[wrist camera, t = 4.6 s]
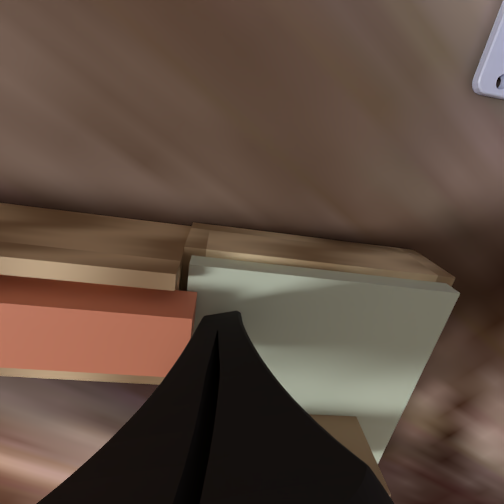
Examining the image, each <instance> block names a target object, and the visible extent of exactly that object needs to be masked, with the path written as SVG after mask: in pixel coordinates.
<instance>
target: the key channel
mask: <svg viewBox="0 0 504 504" xmlns="http://www.w3.org/2000/svg"><path fill="white" fill-rule="evenodd" d="M191 227H192V226H185V225H177V224H169V223H161V222H153V221H145V220H137V219H128V218H120V217H112V216H104V215H96V214H88V213H80V212H72V211H63V210H55V209H47V208H39V207H31V206H23V205H15V204H7V203H0V275H10V276H21V277H32V278H42V279H53V280H63V281H74V282H84V283H95V284H106V285H116V286H127V287H137V288H148V289H158V290H169V291H175V290H180V291H181V282H182V269H183V255H184V246H185V243H186V240H187V237H188V235H189V232H190V229H191ZM0 376H12V377H31V378H49V379H67V380H86V381H104V382H122V383H140V384H159V385H160V383H161V382H162V381H163V379H164V378H165V377H154V376H137V375H120V374H102V373H85V372H68V371H51V370H33V369H16V368H0Z"/></svg>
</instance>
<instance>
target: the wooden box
mask: <svg viewBox="0 0 504 504" xmlns="http://www.w3.org/2000/svg"><path fill="white" fill-rule="evenodd" d="M192 255H195V256H204V257H213V258H222V259H231V260H240V261H249V262H258V263H267V264H276V265H285V266H294V267H303V268H312V269H321V270H330V271H339V272H348V273H357V274H366V275H375V276H384V277H393V278H403V279H412V280H421V281H430V282H439V283H447V284H448V285H449V286H451V287H452V285H453V283H454V281H455V278H456V277H454V276H453V275H451V274H450V273H448V272H447V271H445V270H444V269H442V268H440V267H439V266H437V265H436V264H434V263H433V262H431V261H430V260H428V259H427V258H425V257H424V256H422V255H421V254H419V253H418V252H416V251H415V250H411V249H403V248H395V247H387V246H379V245H371V244H363V243H355V242H347V241H339V240H331V239H323V238H315V237H307V236H299V235H291V234H283V233H275V232H267V231H259V230H251V229H243V228H235V227H227V226H219V225H211V224H203V223H195V222H193V224H192V227H191V229H190V232H189V235H188V237H187V240H186V243H185V246H184V255H183V269H182V282H181V291H187V285H188V273H189V264H190V260H191V256H192Z"/></svg>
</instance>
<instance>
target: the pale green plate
mask: <svg viewBox="0 0 504 504" xmlns="http://www.w3.org/2000/svg"><path fill="white" fill-rule="evenodd" d="M187 291H191V292H197V301H196V311H195V321H194V332H195V330H196V328H197V327H198V325H199V323H200V321H201V319H202V318H203V317H204V316H206V315H212V314H218V313H224V312H230V311H239V312H240V313H241V316H242V322H243V325H244V327H245V329H246V332H247V334H248V336H249V338H250V340H251V341H252V343H253V345H254V347H255V349H256V350H257V352H258V353H259V355H260V357H261V358H262V360H263V361H264V363H265V364H266V365H267V367H268V368H269V370H270V371H271V372H272V374H273V375H274V376H275V378H276V379H277V380H278V381H279V382H280V384H281V385H282V386H283V387H284V388H285V390H286V391H287V392H288V393H289V394H290V395H291V396H292V398H293V399H294V400H295V401H296V402H297V403H298V404H299V405H300V406H301V407H302V408H303V409H304V410H305V411H306V412H307V413H308V414H309V415H310V416H311V417H312V418H313V419H314V420H315V421H316V422H317V423H318V424H319V425H321V426H322V427H323V428H324V429H325V430H326V431H327V432H328V433H329V434H331V435H332V436H333V437H334V438H335V439H336V440H337V441H339V442H340V443H341V444H342V445H344V446H345V447H346V448H347V449H348V450H350V451H351V452H352V453H353V454H355V455H356V456H357V457H358V458H360V459H361V460H362V461H364V462H365V463H366V464H367V465H368V466H369V467H370V468H371V469H372V471H373V472H374V474H375V475H376V477H377V478H378V480H379V481H380V482H381V484H382V485H383V487H384V488H385V490H386V492H387V493H388V495H389V496H391V494H390V491H389V489H388V487H387V485H386V482H385V480H384V478H383V476H382V473H381V471H380V469H379V467H378V462H379V460H380V458H381V456H382V454H383V452H384V450H385V448H386V446H387V444H388V442H389V440H390V438H391V436H392V434H393V431H394V429H395V427H396V425H397V423H398V421H399V419H400V417H401V415H402V413H403V411H404V409H405V407H406V405H407V403H408V400H409V398H410V396H411V394H412V392H413V390H414V388H415V386H416V384H417V382H418V380H419V378H420V376H421V374H422V372H423V369H424V367H425V365H426V363H427V361H428V359H429V357H430V355H431V353H432V351H433V349H434V347H435V345H436V343H437V340H438V338H439V336H440V334H441V332H442V330H443V328H444V326H445V324H446V322H447V320H448V318H449V316H450V314H451V312H452V309H453V307H454V305H455V303H456V301H457V299H458V297H459V295H460V293H459V292H458V291H456V290H455V289H454V288H452V287H451V286H449V285H448V284H447V283H439V282H430V281H421V280H412V279H403V278H393V277H384V276H375V275H366V274H357V273H348V272H339V271H330V270H321V269H312V268H303V267H294V266H285V265H276V264H267V263H258V262H249V261H240V260H231V259H222V258H213V257H204V256H195V255H192V256H191V260H190V264H189V273H188V285H187ZM194 332H193V334H194Z"/></svg>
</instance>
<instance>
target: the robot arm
mask: <svg viewBox="0 0 504 504" xmlns="http://www.w3.org/2000/svg"><path fill="white" fill-rule="evenodd" d="M499 77H500V79H501V83H500V85H499V87H498V88H497V87H496V81H497V79H498V78H499ZM472 87H473V90H474V92H475V93H477V94H479V95H483V96H488V97H493V98H498V99H503V100H504V0H503V2H502V4H501V7H500V10H499V12H498V15H497V18H496V20H495V23H494V25H493V28H492V31H491V33H490V36H489V39H488V41H487V44H486V46H485V49H484V52H483V54H482V57H481V59H480V62H479V65H478V67H477V70H476V73H475V75H474V78H473V82H472ZM37 504H394V503H393V501H392V499H391V498H390V496H389V495H388V493H387V492H386V490H385V488H384V487H383V485H382V484H381V482H380V481H379V480H378V478H377V477H376V475H375V474H374V472H373V471H372V469H371V468H370V467H369V466H368V465H367V464H366V463H365V462H364V461H362V460H361V459H360V458H358V457H357V456H356V455H355V454H353V453H352V452H351V451H350V450H348V449H347V448H346V447H345V446H344V445H342V444H341V443H340V442H339V441H337V440H336V439H335V438H334V437H333V436H332V435H331V434H329V433H328V432H327V431H326V430H325V429H324V428H323V427H322V426H321V425H319V424H318V423H317V422H316V421H315V420H314V419H313V418H312V417H311V416H310V415H309V414H308V413H307V412H306V411H305V410H304V409H303V408H302V407H301V406H300V405H299V404H298V403H297V402H296V401H295V400H294V399H293V398H292V396H291V395H290V394H289V393H288V392H287V391H286V390H285V388H284V387H283V386H282V385H281V384H280V382H279V381H278V380H277V379H276V378H275V376H274V375H273V374H272V372H271V371H270V370H269V368H268V367H267V365H266V364H265V363H264V361H263V360H262V358H261V357H260V355H259V353H258V352H257V350H256V349H255V347H254V345H253V343H252V341H251V340H250V338H249V336H248V334H247V332H246V329H245V327H244V325H243V322H242V316H241V313H240V312H239V311H230V312H224V313H218V314H212V315H206V316H204V317H203V318H202V319H201V321H200V323H199V325H198V327H197V328H196V330H195V332H194V334H193V335H192V337H191V339H190V340H189V342H188V344H187V345H186V347H185V348H184V350H183V352H182V353H181V355H180V356H179V358H178V359H177V361H176V362H175V364H174V365H173V367H172V368H171V369H170V371H169V372H168V374H167V375H166V376H165V378H164V379H163V381H162V382H161V383H160V385H159V386H158V387H157V388H156V390H155V391H154V392H153V393H152V395H151V396H150V397H149V398H148V400H147V401H146V402H145V403H144V404H143V405H142V407H141V408H140V409H139V410H138V411H137V412H136V413H135V414H134V415H133V416H132V418H131V419H130V420H129V421H128V422H127V423H126V424H125V425H124V426H123V427H122V428H121V429H120V430H119V431H118V432H117V433H116V434H115V435H114V436H113V437H112V438H111V439H110V440H109V441H108V442H107V443H106V444H105V445H104V446H103V447H102V448H101V449H100V450H99V451H98V452H96V453H95V454H94V455H93V456H92V457H91V458H90V459H89V460H88V461H87V462H85V463H84V464H83V465H82V466H81V467H80V468H79V469H78V470H77V471H75V472H74V473H73V474H72V475H71V476H70V477H68V478H67V479H66V480H65V481H64V482H63V483H61V484H60V485H59V486H58V487H57V488H55V489H54V490H53V491H52V492H50V493H49V494H48V495H47V496H45V497H44V498H43V499H42V500H41V501H39V502H38V503H37Z"/></svg>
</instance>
